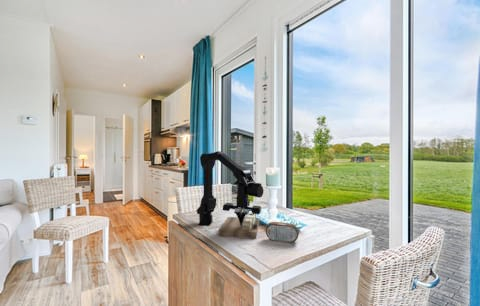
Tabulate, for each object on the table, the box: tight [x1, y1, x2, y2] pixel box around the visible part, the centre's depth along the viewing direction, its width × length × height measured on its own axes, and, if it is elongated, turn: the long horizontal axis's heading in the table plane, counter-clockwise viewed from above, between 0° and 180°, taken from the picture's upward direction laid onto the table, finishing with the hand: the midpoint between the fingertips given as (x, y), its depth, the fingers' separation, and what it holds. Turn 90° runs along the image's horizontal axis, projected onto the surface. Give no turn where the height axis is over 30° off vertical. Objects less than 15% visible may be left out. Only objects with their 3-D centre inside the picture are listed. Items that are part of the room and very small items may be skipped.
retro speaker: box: [265, 221, 300, 244], centre depth 108 cm, size 15×3×8 cm, turn 74°
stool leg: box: [243, 212, 257, 230], centre depth 121 cm, size 16×4×4 cm, turn 165°
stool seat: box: [218, 216, 260, 240], centre depth 123 cm, size 18×22×5 cm
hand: (241, 225), depth 118 cm, fingers closed
